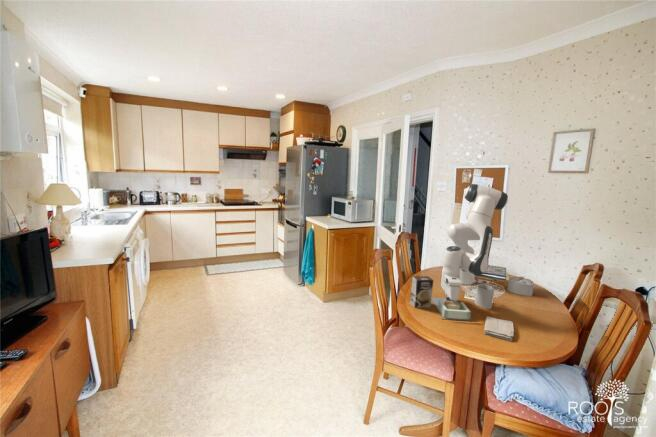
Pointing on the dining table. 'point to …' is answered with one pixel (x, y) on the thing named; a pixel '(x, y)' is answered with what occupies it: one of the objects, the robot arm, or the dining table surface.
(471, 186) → the robot arm
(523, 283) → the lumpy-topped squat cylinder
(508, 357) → the dining table surface
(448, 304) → the beige box with tab
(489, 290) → the mug
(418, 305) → the coffee box
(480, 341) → the dining table surface
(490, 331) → the washcloth
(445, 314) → the dock
